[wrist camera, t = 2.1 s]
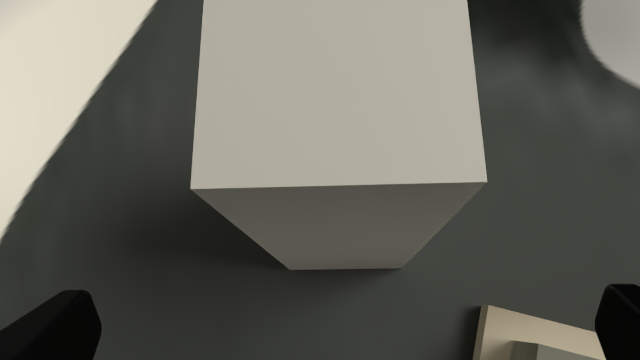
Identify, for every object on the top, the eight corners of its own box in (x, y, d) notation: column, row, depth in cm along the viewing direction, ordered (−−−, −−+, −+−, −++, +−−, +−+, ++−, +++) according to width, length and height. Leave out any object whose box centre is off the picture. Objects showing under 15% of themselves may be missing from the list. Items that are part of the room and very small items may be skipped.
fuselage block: (401, 268, 19) (487, 181, 7) (289, 269, 19) (190, 189, 7) (395, 162, 20) (460, -65, 8) (290, 164, 21) (207, -51, 9)
